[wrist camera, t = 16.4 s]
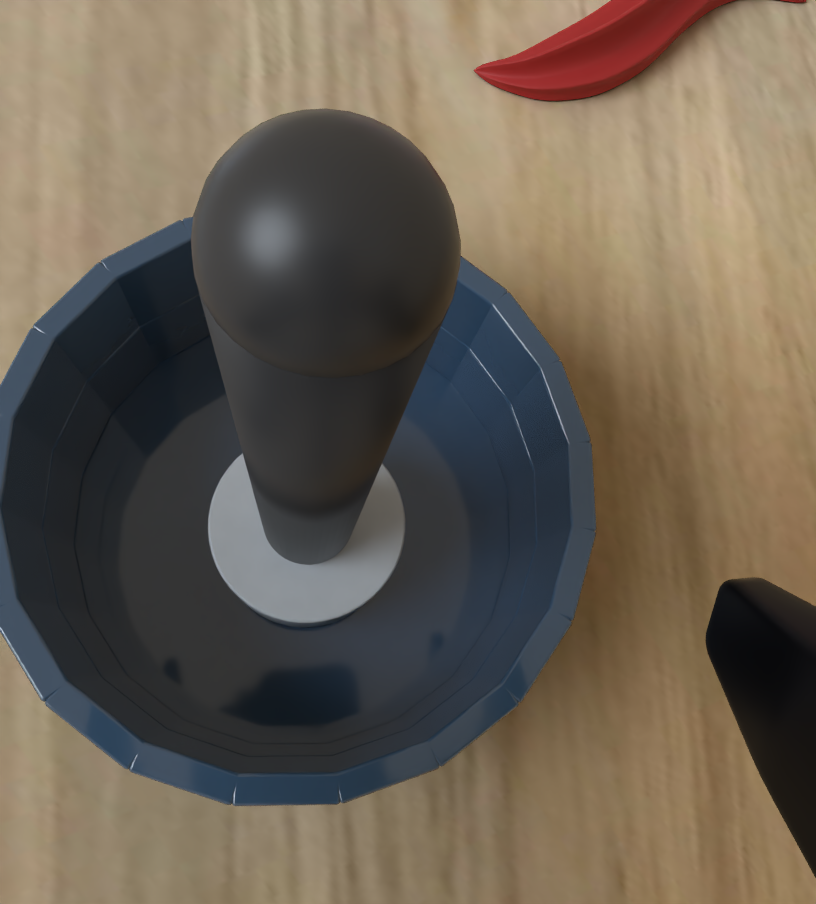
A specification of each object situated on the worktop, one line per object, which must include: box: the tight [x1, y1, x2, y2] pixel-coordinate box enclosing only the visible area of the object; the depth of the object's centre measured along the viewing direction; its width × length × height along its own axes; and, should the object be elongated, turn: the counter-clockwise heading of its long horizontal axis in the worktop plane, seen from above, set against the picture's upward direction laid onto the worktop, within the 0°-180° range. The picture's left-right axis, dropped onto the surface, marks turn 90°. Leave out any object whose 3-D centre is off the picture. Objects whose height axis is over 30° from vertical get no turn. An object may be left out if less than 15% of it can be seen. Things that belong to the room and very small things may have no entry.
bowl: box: [0, 217, 596, 806], centre depth 16 cm, size 11×11×5 cm
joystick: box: [191, 109, 461, 627], centre depth 11 cm, size 4×4×14 cm
